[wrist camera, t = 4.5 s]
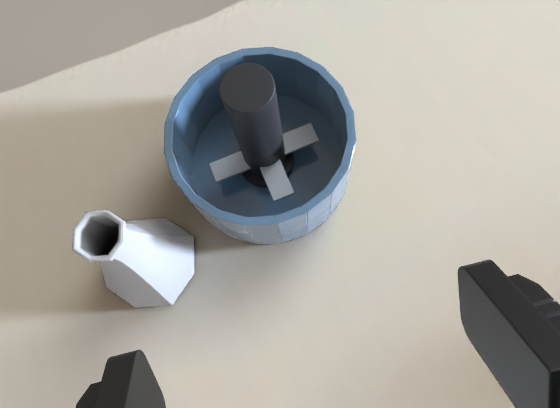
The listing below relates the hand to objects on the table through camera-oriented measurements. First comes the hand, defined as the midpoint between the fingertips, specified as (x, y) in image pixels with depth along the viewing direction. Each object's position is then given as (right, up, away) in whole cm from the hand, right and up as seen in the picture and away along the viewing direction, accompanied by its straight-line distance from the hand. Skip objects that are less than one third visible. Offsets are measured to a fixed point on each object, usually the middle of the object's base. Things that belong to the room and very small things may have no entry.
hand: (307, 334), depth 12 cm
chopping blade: (-2, +7, +27) cm, 28 cm away
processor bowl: (-2, +6, +28) cm, 29 cm away
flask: (-11, -1, +26) cm, 29 cm away
